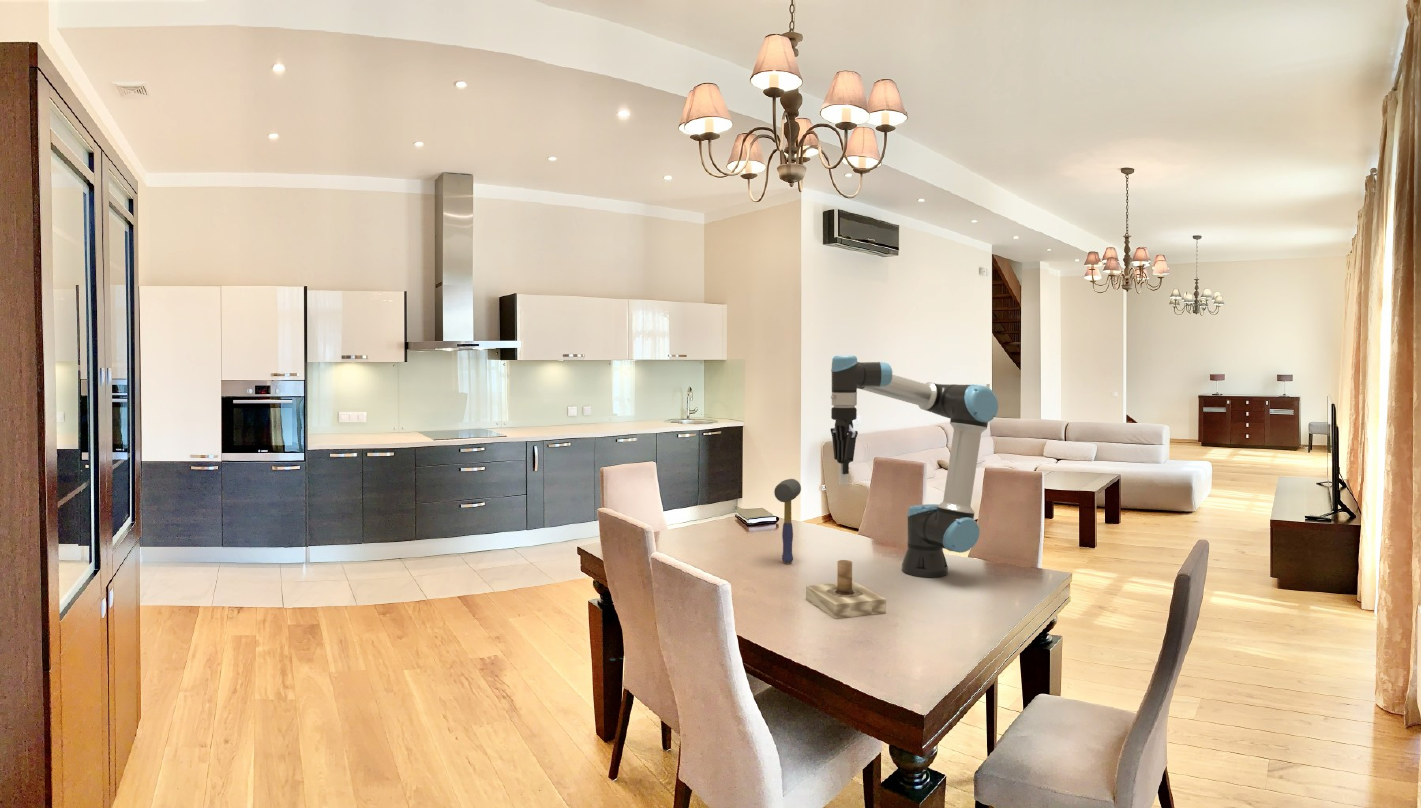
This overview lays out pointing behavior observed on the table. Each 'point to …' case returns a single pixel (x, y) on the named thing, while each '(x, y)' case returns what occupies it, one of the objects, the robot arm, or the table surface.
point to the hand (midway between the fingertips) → (843, 484)
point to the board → (845, 600)
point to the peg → (844, 577)
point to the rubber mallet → (787, 514)
